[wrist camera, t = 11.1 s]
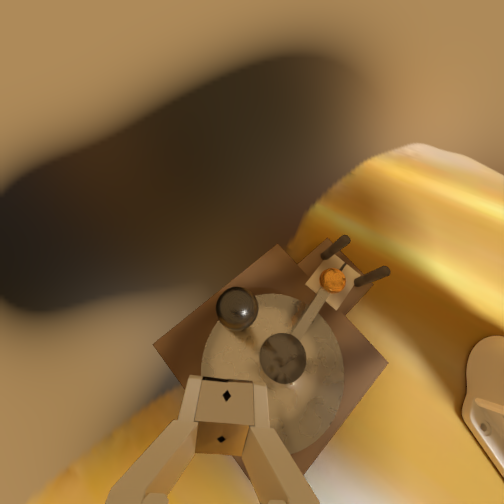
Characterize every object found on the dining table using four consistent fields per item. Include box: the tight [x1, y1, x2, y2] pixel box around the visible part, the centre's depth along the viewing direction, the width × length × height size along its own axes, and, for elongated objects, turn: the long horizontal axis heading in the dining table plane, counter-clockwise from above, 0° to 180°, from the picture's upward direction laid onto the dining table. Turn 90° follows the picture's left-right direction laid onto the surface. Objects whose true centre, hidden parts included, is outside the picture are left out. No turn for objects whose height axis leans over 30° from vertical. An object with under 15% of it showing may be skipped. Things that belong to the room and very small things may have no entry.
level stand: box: [153, 235, 390, 483], centre depth 27 cm, size 20×26×8 cm
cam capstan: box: [201, 268, 346, 454], centre depth 23 cm, size 17×22×11 cm
